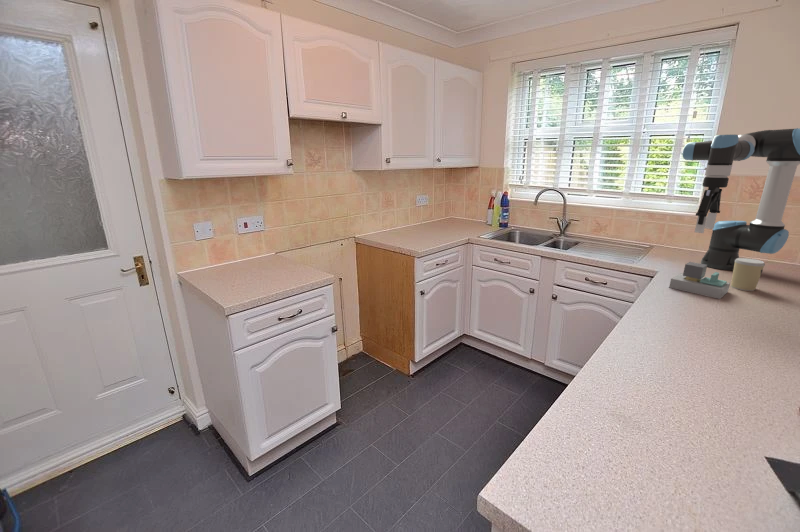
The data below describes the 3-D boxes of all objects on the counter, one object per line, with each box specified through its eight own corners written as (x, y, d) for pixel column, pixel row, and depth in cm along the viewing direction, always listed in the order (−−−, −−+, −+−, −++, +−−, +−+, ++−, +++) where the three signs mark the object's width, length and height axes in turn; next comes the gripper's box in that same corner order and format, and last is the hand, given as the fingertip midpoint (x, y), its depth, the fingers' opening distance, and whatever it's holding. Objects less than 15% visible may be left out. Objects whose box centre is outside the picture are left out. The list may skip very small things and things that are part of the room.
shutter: (705, 278, 156) (707, 270, 155) (726, 283, 151) (728, 274, 149) (699, 282, 152) (702, 273, 151) (721, 286, 146) (724, 277, 145)
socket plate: (678, 281, 165) (680, 273, 164) (727, 292, 153) (730, 283, 152) (669, 287, 158) (671, 278, 157) (719, 298, 146) (722, 289, 144)
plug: (684, 283, 161) (689, 261, 159) (701, 287, 157) (707, 264, 154) (680, 286, 158) (685, 264, 155) (697, 290, 153) (703, 267, 150)
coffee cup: (763, 292, 153) (771, 264, 149) (737, 290, 154) (744, 262, 151) (747, 284, 161) (755, 258, 158) (723, 283, 163) (730, 257, 160)
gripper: (713, 175, 155) (702, 225, 161) (694, 177, 140) (682, 232, 146) (737, 176, 149) (724, 228, 155) (720, 178, 134) (706, 236, 140)
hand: (704, 230), depth 150 cm, fingers open, 13 cm apart
